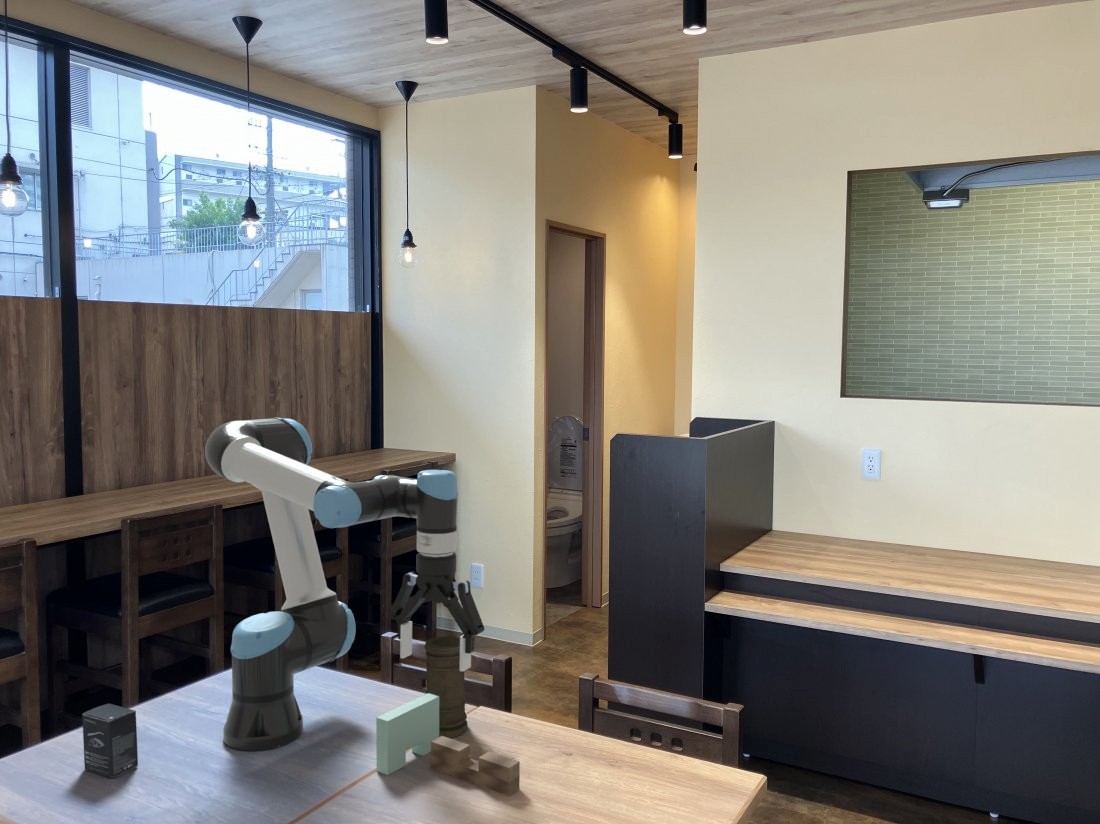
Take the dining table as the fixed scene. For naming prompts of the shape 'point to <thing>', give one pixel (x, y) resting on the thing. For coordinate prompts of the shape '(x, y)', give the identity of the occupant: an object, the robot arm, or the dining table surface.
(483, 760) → the slotted rail
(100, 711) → the box
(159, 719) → the dining table surface
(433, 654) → the container
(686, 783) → the dining table surface
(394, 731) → the plate
